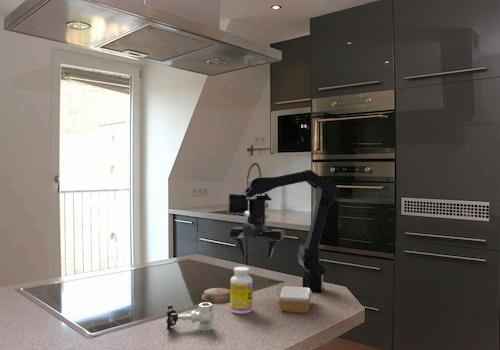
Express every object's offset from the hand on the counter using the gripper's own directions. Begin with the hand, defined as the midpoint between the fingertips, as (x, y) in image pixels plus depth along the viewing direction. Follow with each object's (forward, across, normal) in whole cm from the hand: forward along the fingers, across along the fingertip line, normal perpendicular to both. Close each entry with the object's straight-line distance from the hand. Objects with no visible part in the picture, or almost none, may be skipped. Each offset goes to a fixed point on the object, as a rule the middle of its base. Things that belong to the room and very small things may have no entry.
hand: (256, 258), depth 143 cm
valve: (+12, -6, -38) cm, 40 cm away
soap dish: (+12, +16, -10) cm, 23 cm away
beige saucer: (+12, -10, -11) cm, 19 cm away
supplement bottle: (+12, +2, -20) cm, 23 cm away
